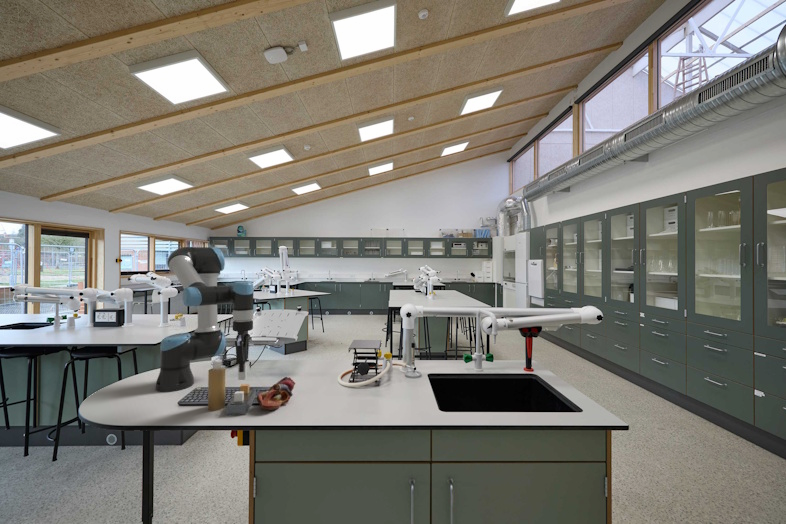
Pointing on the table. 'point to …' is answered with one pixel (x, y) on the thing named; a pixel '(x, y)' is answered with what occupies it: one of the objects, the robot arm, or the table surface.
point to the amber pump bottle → (216, 387)
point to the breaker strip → (241, 404)
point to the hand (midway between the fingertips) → (242, 379)
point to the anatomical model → (276, 394)
